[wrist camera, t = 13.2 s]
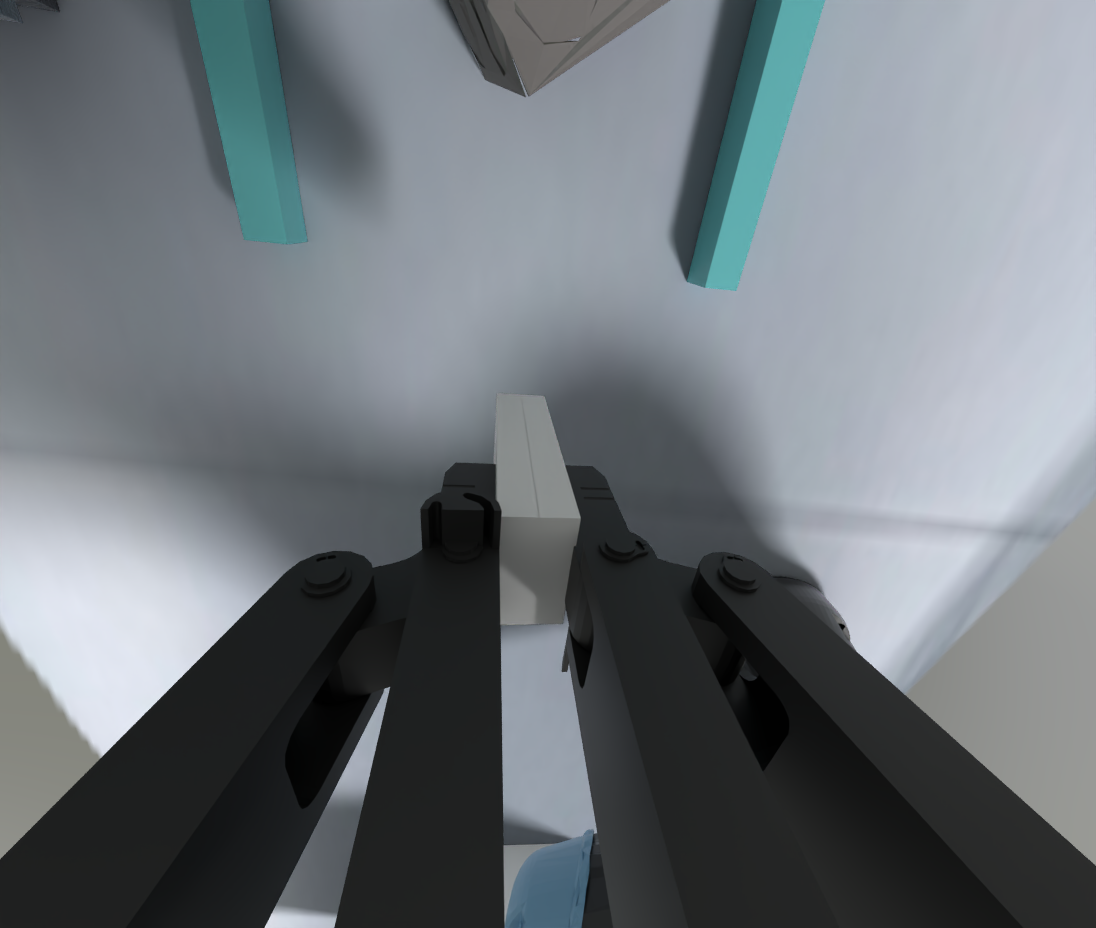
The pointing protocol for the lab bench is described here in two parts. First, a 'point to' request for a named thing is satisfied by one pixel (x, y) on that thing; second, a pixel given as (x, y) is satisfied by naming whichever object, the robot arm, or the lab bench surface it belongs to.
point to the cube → (515, 866)
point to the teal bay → (268, 161)
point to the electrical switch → (541, 35)
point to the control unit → (3, 5)
